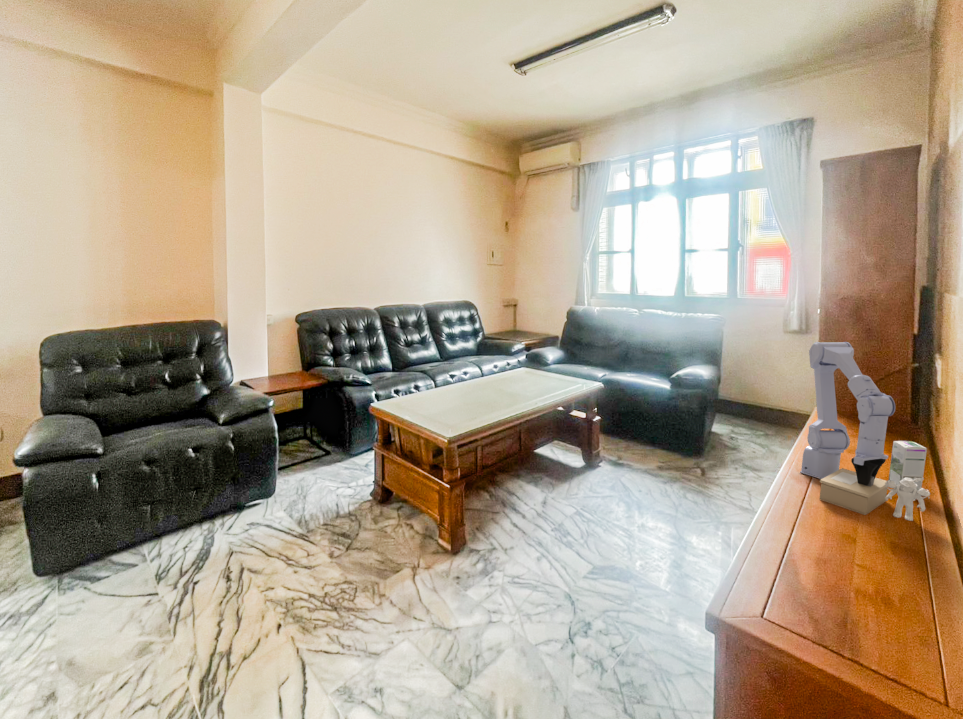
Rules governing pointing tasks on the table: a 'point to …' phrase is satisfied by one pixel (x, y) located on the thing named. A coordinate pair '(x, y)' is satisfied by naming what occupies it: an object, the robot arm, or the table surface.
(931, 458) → the table surface
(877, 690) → the table surface
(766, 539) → the table surface
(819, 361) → the robot arm
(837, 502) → the mailer box
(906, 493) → the blocky character figurine
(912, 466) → the syrup box
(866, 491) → the mailer lid
